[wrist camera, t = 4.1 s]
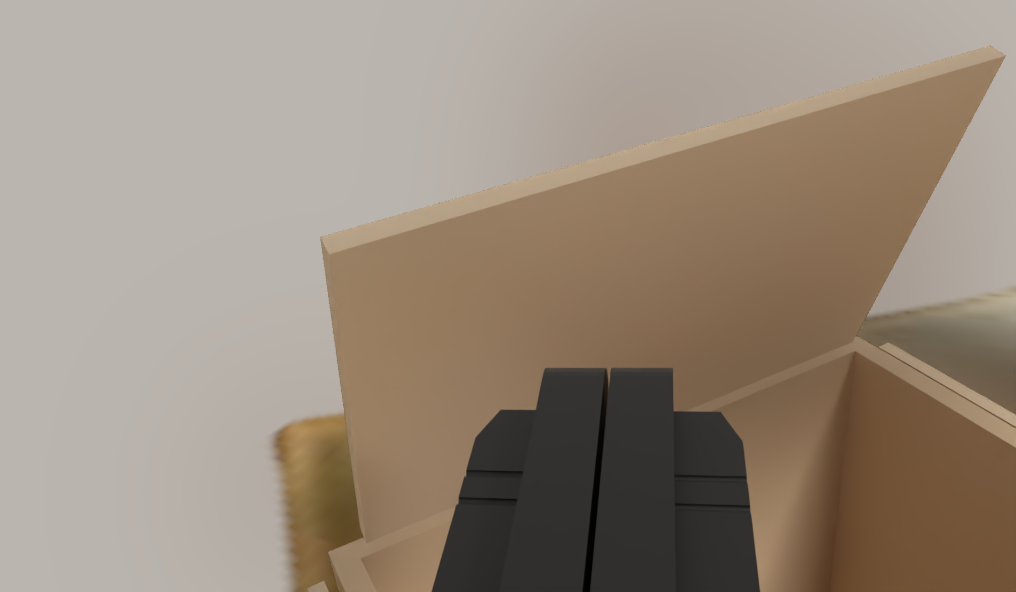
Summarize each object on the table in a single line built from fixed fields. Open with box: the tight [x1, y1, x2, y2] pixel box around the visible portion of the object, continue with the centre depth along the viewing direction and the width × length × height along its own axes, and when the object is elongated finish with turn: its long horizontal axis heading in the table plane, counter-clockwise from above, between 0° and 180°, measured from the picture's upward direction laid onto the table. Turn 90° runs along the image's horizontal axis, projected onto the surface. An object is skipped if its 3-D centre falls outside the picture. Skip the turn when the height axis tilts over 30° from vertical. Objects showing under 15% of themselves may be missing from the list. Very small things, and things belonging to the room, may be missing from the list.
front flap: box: [320, 46, 1005, 543], centre depth 19 cm, size 14×9×1 cm
